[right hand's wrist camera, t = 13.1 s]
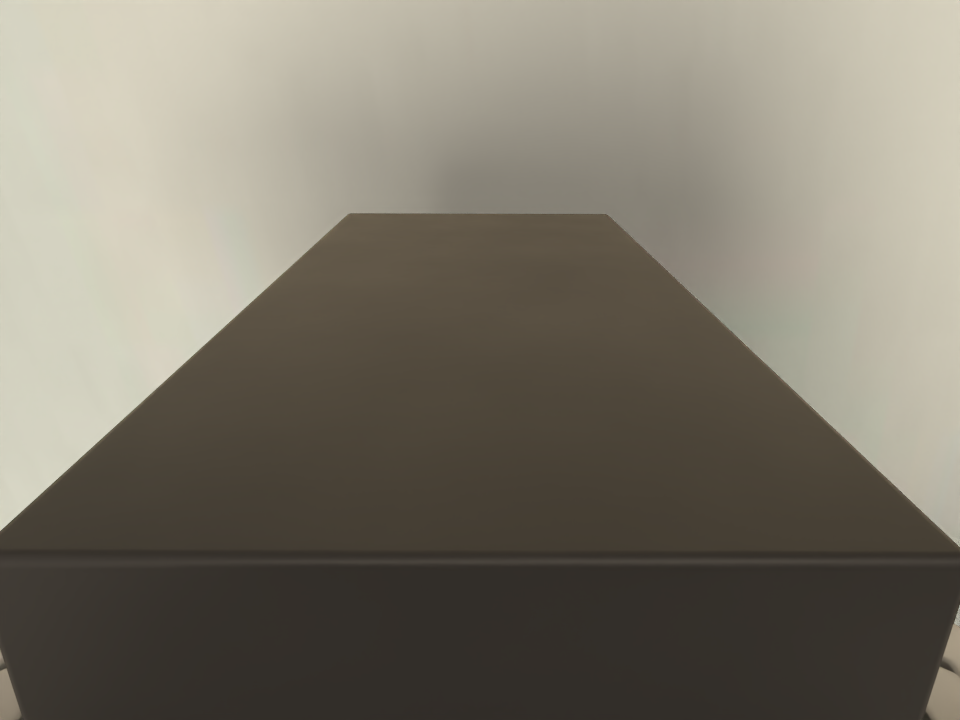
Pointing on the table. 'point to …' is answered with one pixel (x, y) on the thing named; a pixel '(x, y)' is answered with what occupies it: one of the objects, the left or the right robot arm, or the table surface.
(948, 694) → the right robot arm
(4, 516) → the table surface
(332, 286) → the box
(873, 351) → the table surface
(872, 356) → the table surface
